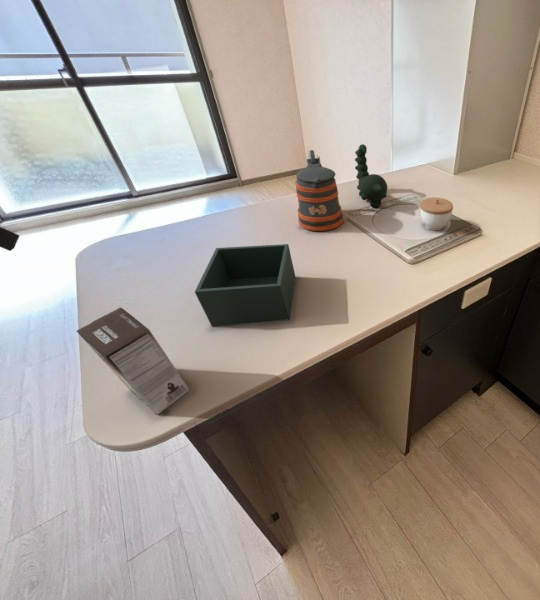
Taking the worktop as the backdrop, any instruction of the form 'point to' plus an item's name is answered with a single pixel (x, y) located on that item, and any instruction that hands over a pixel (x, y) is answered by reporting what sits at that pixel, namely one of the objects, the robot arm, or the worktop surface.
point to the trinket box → (435, 212)
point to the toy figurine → (369, 180)
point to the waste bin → (247, 285)
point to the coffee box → (135, 358)
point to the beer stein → (317, 197)
